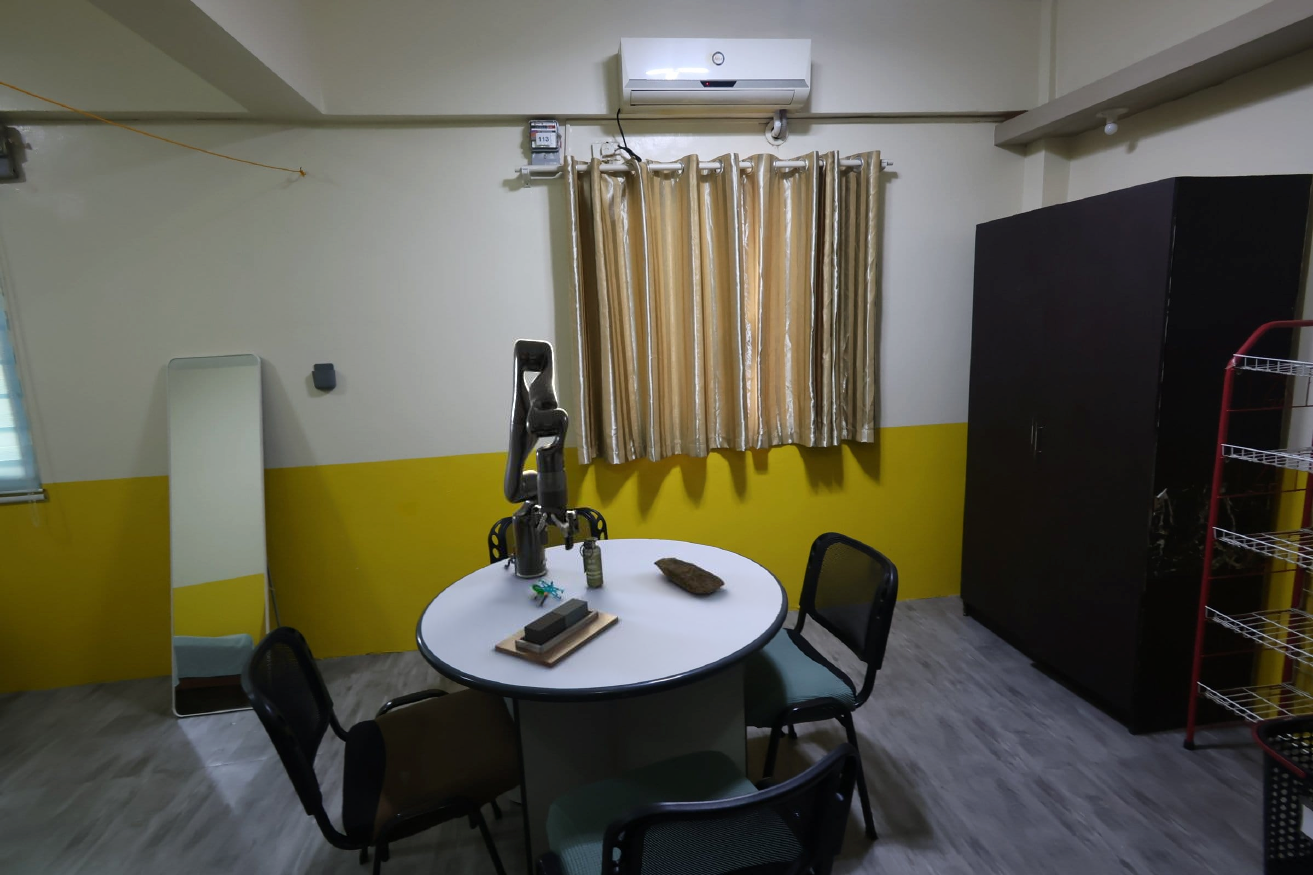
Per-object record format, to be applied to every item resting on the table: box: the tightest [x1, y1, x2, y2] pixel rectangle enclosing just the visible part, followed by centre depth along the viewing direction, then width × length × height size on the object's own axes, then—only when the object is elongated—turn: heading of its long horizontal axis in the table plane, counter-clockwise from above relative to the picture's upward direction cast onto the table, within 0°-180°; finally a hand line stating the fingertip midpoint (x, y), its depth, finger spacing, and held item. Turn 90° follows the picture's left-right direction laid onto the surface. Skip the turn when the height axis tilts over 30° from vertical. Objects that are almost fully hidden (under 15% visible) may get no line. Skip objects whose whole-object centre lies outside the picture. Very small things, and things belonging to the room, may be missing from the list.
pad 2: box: [549, 597, 589, 630], centre depth 158 cm, size 5×9×4 cm, turn 148°
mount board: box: [494, 608, 619, 669], centre depth 154 cm, size 18×26×3 cm
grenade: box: [579, 536, 604, 589], centre depth 182 cm, size 6×6×15 cm
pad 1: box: [523, 611, 565, 646], centre depth 150 cm, size 5×9×4 cm, turn 148°
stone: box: [653, 557, 726, 594], centre depth 183 cm, size 11×27×6 cm, turn 34°
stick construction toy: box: [531, 578, 565, 607], centre depth 175 cm, size 12×7×8 cm
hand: (556, 546), depth 160 cm, fingers open, 8 cm apart
